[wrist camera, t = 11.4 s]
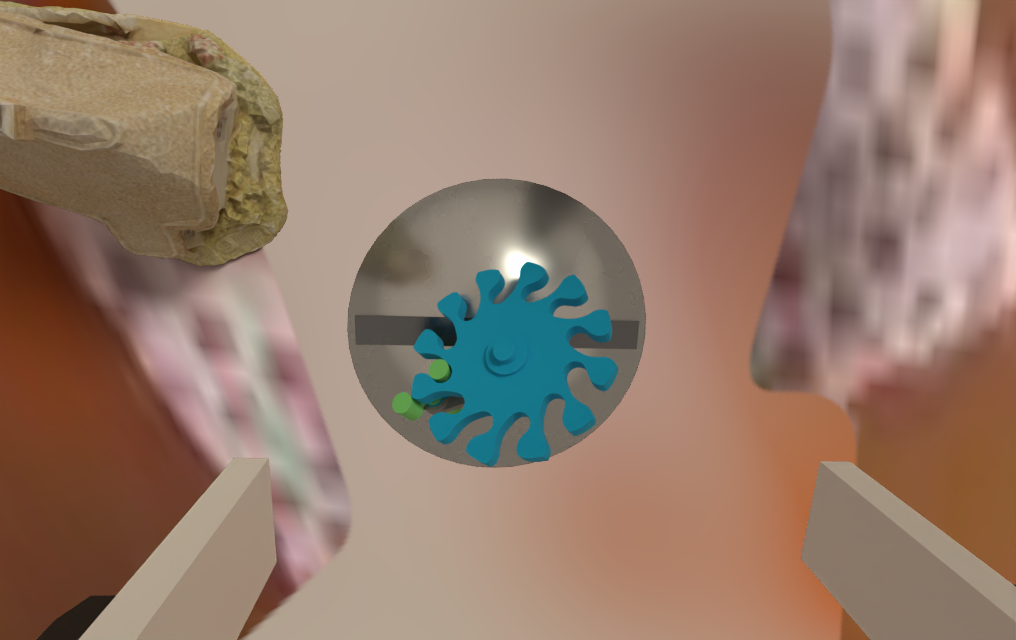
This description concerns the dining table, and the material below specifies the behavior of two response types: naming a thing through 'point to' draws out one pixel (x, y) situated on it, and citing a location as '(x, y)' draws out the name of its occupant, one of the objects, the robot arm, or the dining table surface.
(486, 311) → the gear
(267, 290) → the dining table surface
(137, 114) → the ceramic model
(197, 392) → the dining table surface
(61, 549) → the dining table surface
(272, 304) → the dining table surface
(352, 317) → the hub plate
